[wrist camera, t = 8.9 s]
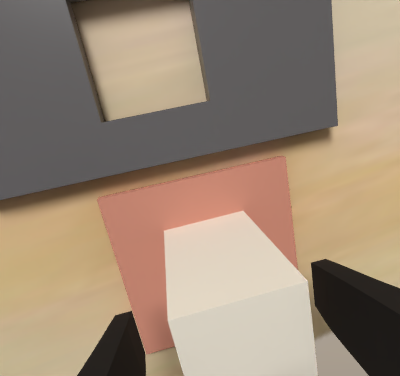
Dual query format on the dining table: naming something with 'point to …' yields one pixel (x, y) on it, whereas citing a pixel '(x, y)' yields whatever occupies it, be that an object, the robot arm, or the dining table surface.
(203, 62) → the board
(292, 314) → the plug
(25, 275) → the dining table surface
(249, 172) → the mat
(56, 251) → the dining table surface
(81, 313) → the dining table surface
